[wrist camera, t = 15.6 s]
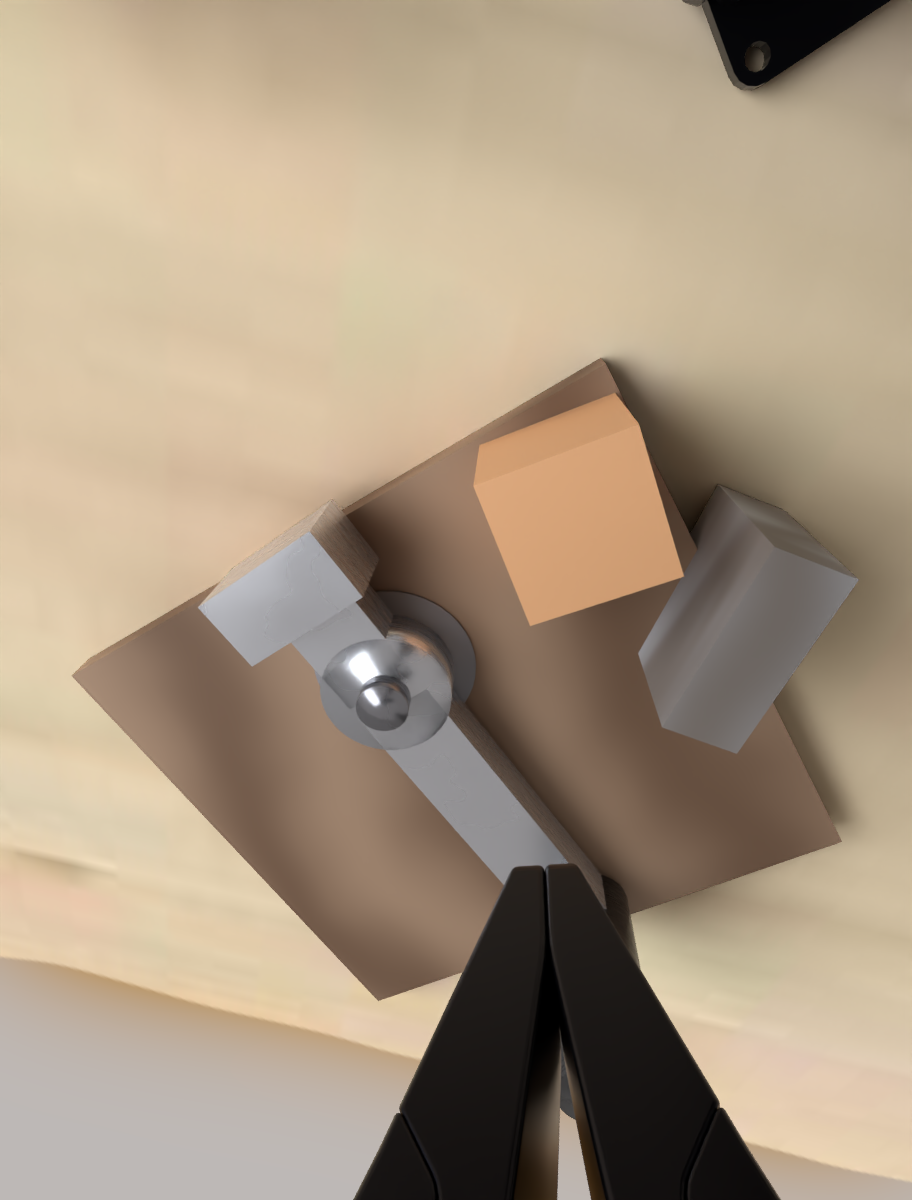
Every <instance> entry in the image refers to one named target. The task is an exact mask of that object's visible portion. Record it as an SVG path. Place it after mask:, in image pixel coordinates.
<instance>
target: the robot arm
mask: <svg viewBox="0 0 912 1200" xmlns="http://www.w3.org/2000/svg"><path fill="white" fill-rule="evenodd" d="M889 1H890V0H683V2H685V3H687V4H690V5H693V6H700V5H701V4H702V7H703V10H704V12H705V15H706V18H707V20H708V23H709V26H710V29H711V31H712V34H713V37H714V39H715V42H716V45H717V47H718V50H719V53H720V56H721V58H722V61H723V64H724V66H725V69H726V72H727V74H728V77H729V79H730V80H731V82H732V83H733V85H734V86H736V87H737V88H739V89H741V90H753V89H755V88H758V87H760V86H762V85H763V84H765V83H766V82H768V81H769V80H771V79H772V78H774V77H775V76H777V75H778V74H780V73H781V72H783V71H784V70H786V69H787V68H789V67H790V66H792V65H793V64H795V63H797V62H798V61H800V60H801V59H803V58H804V57H806V56H807V55H809V54H810V53H812V52H813V51H815V50H816V49H818V48H819V47H821V46H822V45H824V44H825V43H827V42H828V41H830V40H831V39H833V38H834V37H836V36H837V35H839V34H840V33H842V32H843V31H845V30H847V29H848V28H850V27H851V26H853V25H854V24H856V23H857V22H859V21H860V20H862V19H863V18H865V17H866V16H868V15H869V14H871V13H872V12H874V11H875V10H877V9H878V8H880V7H881V6H883V5H884V4H886V3H887V2H889ZM752 46H756V47H759V48H760V49H761V50H762V52H763V53H764V63H763V66H762V69H761V70H760V71H758V72H752V71H749V70H748V68H747V67H746V65H745V58H744V57H745V54H746V51H747V49H748V48H749V47H752ZM560 1033H561V1037H560ZM561 1040H562V1047H563V1054H564V1060H565V1066H566V1072H567V1077H568V1082H569V1087H570V1092H571V1098H572V1103H573V1108H574V1113H575V1118H576V1123H577V1129H578V1134H579V1139H580V1144H581V1149H582V1155H583V1160H584V1165H585V1170H586V1175H587V1180H588V1185H589V1191H590V1196H591V1200H781V1199H780V1198H779V1196H778V1194H777V1193H776V1191H775V1190H774V1188H773V1187H772V1185H771V1183H770V1182H769V1180H768V1179H767V1177H766V1176H765V1174H764V1172H763V1171H762V1169H761V1168H760V1166H759V1165H758V1163H757V1161H756V1160H755V1159H754V1157H753V1155H752V1154H751V1152H750V1151H749V1149H748V1147H747V1146H746V1144H745V1143H744V1141H743V1139H742V1138H741V1136H740V1134H739V1133H738V1131H737V1129H736V1128H735V1126H734V1124H733V1123H732V1121H731V1119H730V1118H729V1116H728V1114H727V1113H726V1111H725V1110H724V1109H723V1108H720V1103H719V1100H718V1098H717V1097H716V1095H715V1093H714V1092H713V1090H712V1088H711V1087H710V1085H709V1083H708V1082H707V1080H706V1078H705V1077H704V1075H703V1073H702V1072H701V1070H700V1068H699V1067H698V1065H697V1063H696V1062H695V1060H694V1058H693V1057H692V1055H691V1053H690V1052H689V1050H688V1048H687V1047H686V1045H685V1043H684V1042H683V1040H682V1038H681V1037H680V1035H679V1033H678V1032H677V1030H676V1028H675V1027H674V1025H673V1023H672V1022H671V1020H670V1018H669V1017H668V1015H667V1013H666V1012H665V1010H664V1008H663V1007H662V1005H661V1003H660V1002H659V1000H658V998H657V997H656V995H655V993H654V992H653V990H652V988H651V987H650V985H649V983H648V982H647V980H646V978H645V977H644V975H643V973H642V972H641V970H640V968H639V967H638V965H637V963H636V962H635V960H634V958H633V957H632V955H631V953H630V952H629V950H628V948H627V947H626V945H625V943H624V942H623V940H622V938H621V937H620V935H619V933H618V932H617V930H616V928H615V927H614V925H613V923H612V922H611V920H610V918H609V917H608V915H607V913H606V912H605V910H604V908H603V907H602V905H601V903H600V902H599V900H598V898H597V897H596V895H595V893H594V892H593V890H592V888H591V887H590V885H589V883H588V882H587V880H586V878H585V877H584V875H583V873H582V872H581V870H580V868H579V867H578V866H577V865H576V864H574V863H566V864H550V865H548V866H546V868H545V870H544V868H543V867H542V866H540V865H533V866H517V867H514V868H513V869H512V870H511V872H510V873H509V875H508V878H507V880H506V882H505V884H504V886H503V888H502V890H501V892H500V894H499V897H498V899H497V901H496V903H495V905H494V907H493V909H492V911H491V914H490V916H489V918H488V920H487V922H486V924H485V926H484V928H483V931H482V933H481V935H480V937H479V939H478V941H477V943H476V945H475V947H474V950H473V952H472V954H471V956H470V958H469V960H468V962H467V964H466V967H465V969H464V971H463V973H462V975H461V977H460V979H459V981H458V983H457V986H456V988H455V990H454V992H453V994H452V996H451V998H450V1000H449V1003H448V1005H447V1007H446V1009H445V1011H444V1013H443V1015H442V1017H441V1020H440V1022H439V1024H438V1026H437V1028H436V1030H435V1032H434V1034H433V1036H432V1039H431V1041H430V1043H429V1045H428V1047H427V1049H426V1051H425V1053H424V1056H423V1058H422V1060H421V1062H420V1064H419V1066H418V1068H417V1070H416V1072H415V1075H414V1077H413V1079H412V1081H411V1083H410V1085H409V1087H408V1089H407V1092H406V1094H405V1096H404V1098H403V1100H402V1102H401V1104H400V1108H399V1109H400V1113H401V1114H400V1113H397V1114H396V1115H395V1116H394V1119H393V1121H392V1123H391V1125H390V1127H389V1129H388V1131H387V1134H386V1135H385V1137H384V1140H383V1142H382V1144H381V1146H380V1148H379V1150H378V1152H377V1154H376V1156H375V1158H374V1160H373V1162H372V1164H371V1166H370V1168H369V1170H368V1172H367V1174H366V1176H365V1178H364V1180H363V1182H362V1184H361V1186H360V1188H359V1190H358V1192H357V1193H356V1196H355V1198H354V1199H353V1200H557V1188H558V1154H559V1123H560V1121H559V1120H560V1090H561Z"/></svg>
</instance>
